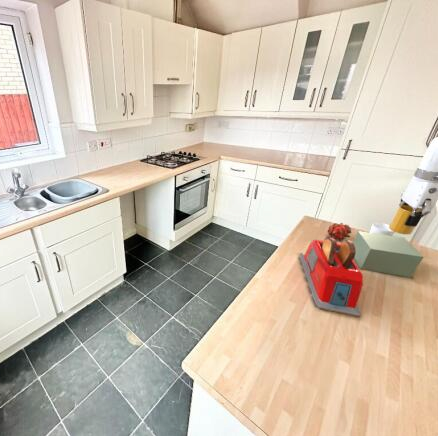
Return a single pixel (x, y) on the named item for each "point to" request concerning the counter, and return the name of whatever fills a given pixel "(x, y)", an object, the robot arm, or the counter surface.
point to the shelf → (386, 254)
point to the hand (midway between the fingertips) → (404, 220)
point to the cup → (402, 220)
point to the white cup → (381, 229)
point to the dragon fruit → (339, 231)
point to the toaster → (333, 275)
